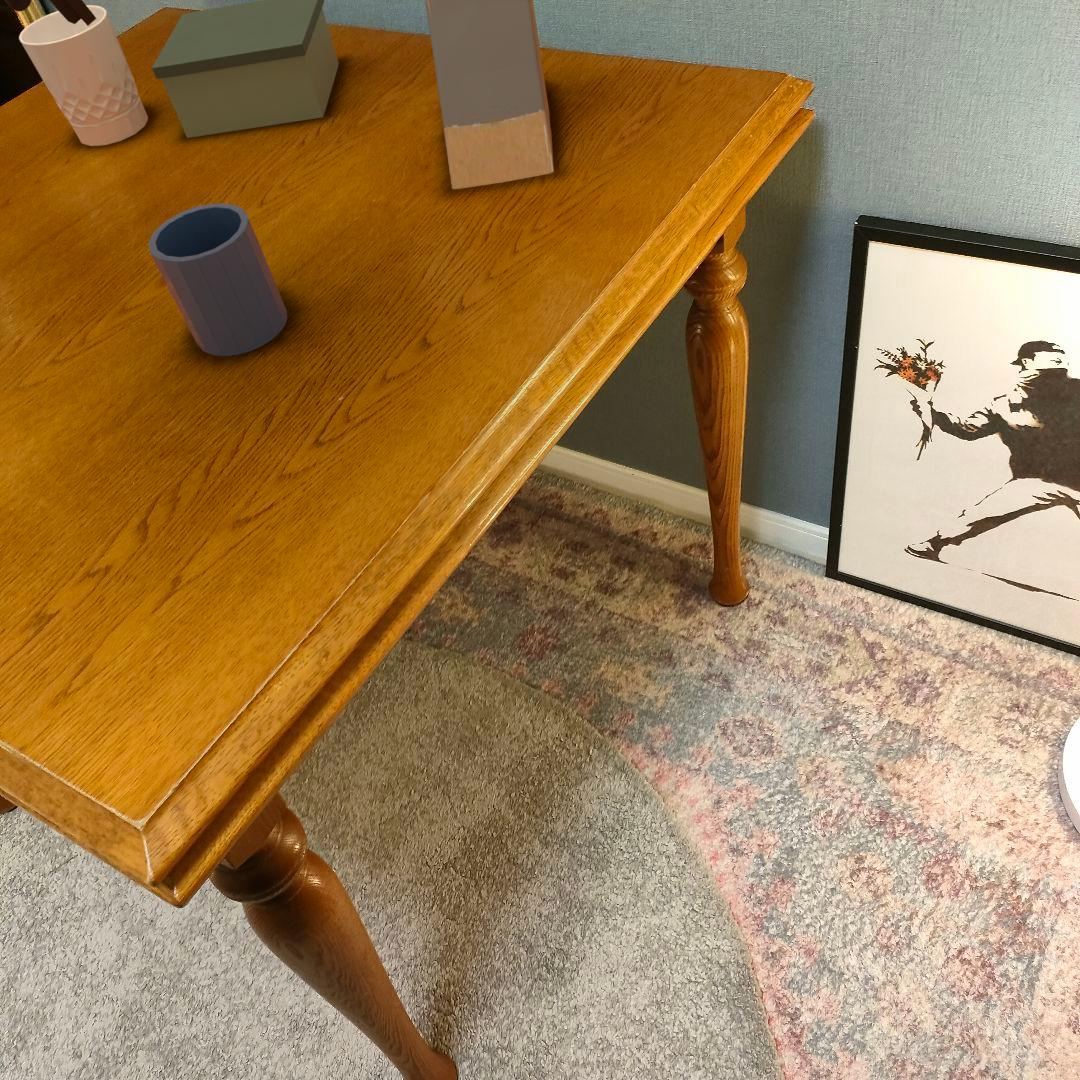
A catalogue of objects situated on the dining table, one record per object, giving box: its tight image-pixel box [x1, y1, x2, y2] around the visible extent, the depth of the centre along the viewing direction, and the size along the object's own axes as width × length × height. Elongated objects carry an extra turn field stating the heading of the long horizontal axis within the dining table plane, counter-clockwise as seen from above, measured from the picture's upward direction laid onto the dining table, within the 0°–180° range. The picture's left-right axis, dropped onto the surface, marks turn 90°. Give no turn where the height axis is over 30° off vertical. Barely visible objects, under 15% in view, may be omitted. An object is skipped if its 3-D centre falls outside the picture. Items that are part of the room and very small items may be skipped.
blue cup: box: [147, 202, 288, 357], centre depth 68 cm, size 7×7×8 cm
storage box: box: [151, 0, 340, 139], centre depth 93 cm, size 14×12×7 cm
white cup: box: [18, 4, 149, 147], centre depth 92 cm, size 8×8×10 cm
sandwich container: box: [424, 0, 555, 190], centre depth 78 cm, size 9×15×15 cm, turn 3°
